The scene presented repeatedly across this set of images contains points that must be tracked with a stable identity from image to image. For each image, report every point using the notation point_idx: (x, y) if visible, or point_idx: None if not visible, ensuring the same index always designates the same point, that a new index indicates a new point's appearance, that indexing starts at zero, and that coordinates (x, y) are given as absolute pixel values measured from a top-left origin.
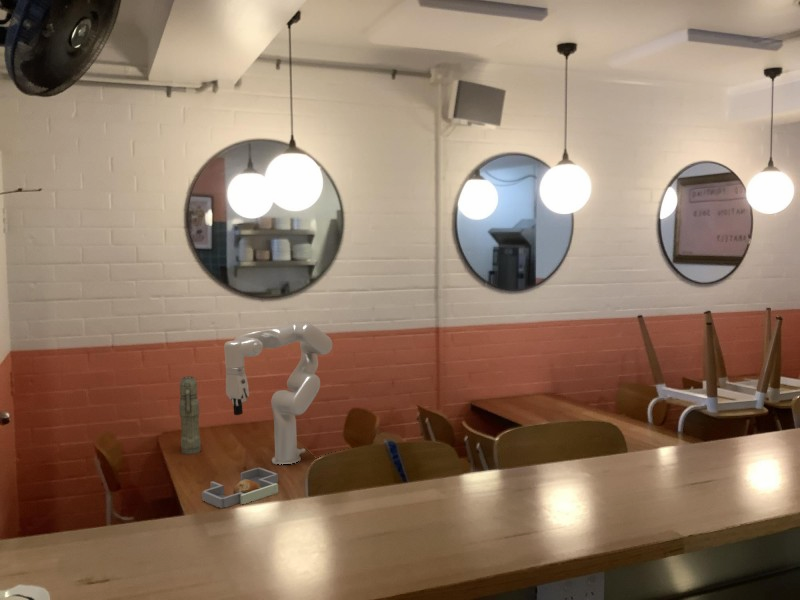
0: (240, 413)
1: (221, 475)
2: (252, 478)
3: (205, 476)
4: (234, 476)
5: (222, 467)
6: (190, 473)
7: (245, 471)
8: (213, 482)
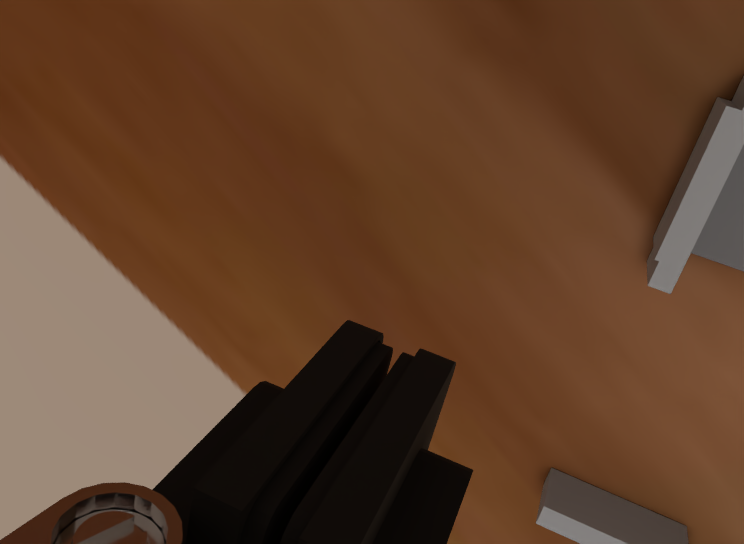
0: (431, 427)
1: (406, 196)
2: (729, 192)
3: (316, 254)
4: (519, 179)
5: (284, 29)
6: (187, 236)
7: (673, 239)
8: (566, 528)
